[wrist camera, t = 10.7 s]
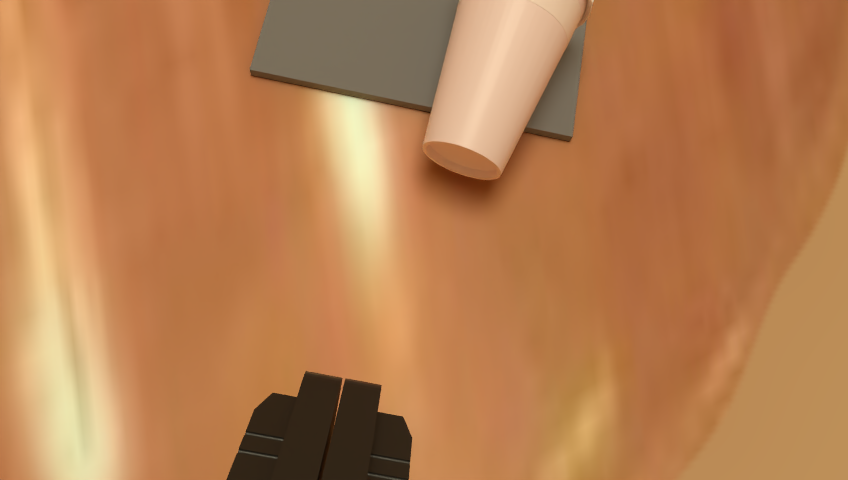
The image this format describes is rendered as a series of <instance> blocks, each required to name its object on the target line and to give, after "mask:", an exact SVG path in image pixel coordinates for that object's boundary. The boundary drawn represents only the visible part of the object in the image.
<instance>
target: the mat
mask: <svg viewBox="0 0 848 480" xmlns="http://www.w3.org/2000/svg"><path fill="white" fill-rule="evenodd" d="M458 3H459V0H270V3H269V6H268V10H267V13H266V16H265V20H264V23H263V27H262V30H261V33H260V37H259V40H258V43H257V47H256V50H255V53H254V57H253V60H252V64H251V67H250V72H251V75H253V76H258V77H263V78H268V79H273V80H277V81H282V82H287V83H292V84H297V85H301V86H306V87H311V88H316V89H321V90H326V91H330V92H335V93H340V94H345V95H350V96H354V97H359V98H364V99H369V100H374V101H378V102H383V103H388V104H393V105H398V106H402V107H407V108H412V109H417V110H422V111H427V112H431V110H432V106H433V102H434V98H435V94H436V90H437V86H438V82H439V78H440V75H441V71H442V67H443V63H444V59H445V55H446V51H447V47H448V43H449V39H450V35H451V31H452V27H453V23H454V19H455V15H456V11H457V6H458ZM586 21H587V20H586ZM586 21H585V23H584V24H583V25H581V26H579V27H578V28H576V29H575V31H574V33H573V35H572V37H571V39H570V42H569V44H568V46H567V48H566V50H565V51H564V53H563V55H562V57H561V59H560V61H559V63H558V65H557V67H556V69H555V71H554V72H553V74H552V76H551V78H550V80H549V82H548V84H547V86H546V88H545V90H544V92H543V94H542V96H541V98H540V100H539V102H538V104H537V106H536V108H535V110H534V112H533V114H532V116H531V117H530V119H529V121H528V123H527V125H526V127H525V129H524V131H523V132H528V133H532V134H537V135H542V136H547V137H552V138H556V139H561V140H566V141H570V140H571V138H572V137H573V129H574V120H575V112H576V104H577V96H578V87H579V79H580V71H581V62H582V54H583V46H584V37H585V29H586Z"/></svg>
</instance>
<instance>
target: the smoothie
mask: <svg viewBox="0 0 848 480" xmlns="http://www.w3.org/2000/svg"><path fill="white" fill-rule="evenodd" d="M593 1H594V0H459V3H458V6H457V11H456V15H455V19H454V23H453V27H452V31H451V35H450V39H449V43H448V47H447V51H446V55H445V59H444V63H443V67H442V71H441V75H440V78H439V82H438V86H437V90H436V94H435V98H434V102H433V106H432V110H431V114H430V118H429V122H428V126H427V130H426V134H425V138H424V142H423V146H422V149H423V152H424V153H425V154H426V155H427V156H428V157H429V158H430V159H431V160H432V161H434V162H435V163H437V164H438V165H440V166H442V167H444V168H446V169H448V170H450V171H453V172H455V173H458V174H460V175H464V176H467V177H471V178H475V179H481V180H494V179H497V178H499V177H500V176H501V174H502V172H503V170H504V168H505V166H506V164H507V162H508V161H509V159H510V157H511V155H512V153H513V151H514V149H515V147H516V145H517V143H518V141H519V139H520V137H521V135H522V133H523V131H524V129H525V127H526V125H527V123H528V121H529V119H530V117H531V116H532V114H533V112H534V110H535V108H536V106H537V104H538V102H539V100H540V98H541V96H542V94H543V92H544V90H545V88H546V86H547V84H548V82H549V80H550V78H551V76H552V74H553V72H554V71H555V69H556V67H557V65H558V63H559V61H560V59H561V57H562V55H563V53H564V51H565V50H566V48H567V46H568V44H569V42H570V39H571V37H572V35H573V33H574V31H575V29H576V28H578V27H579V26H581V25H583V24H584V23H585V21H586V20H587V19H588V17H589V16H590V14H591V9H592V5H593Z"/></svg>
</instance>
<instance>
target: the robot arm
mask: <svg viewBox="0 0 848 480" xmlns="http://www.w3.org/2000/svg"><path fill="white" fill-rule="evenodd" d="M341 384H342V378H340V377H335V376H329V375H324V374H319V373H313V372H308V371H306V372H305V374H304V377H303V380H302V383H301V387H300V390H299V393H298V396H297V397H293V396H288V395H282V394H277V393H272V394H271V395H270V396H269V397H268V398H266V399H265V400H264V401H263V402H262V403H261V404H260V405H259V406H258V407H257V408H255V409H254V412H253V414H252V417H251V419H250V422H249V424H248V427H247V429H246V433H245V435H244V437H243V440H242V442H241V445H240V447H239V451H238V453H237V455H236V457H235V460H234V462H233V465H232V467H231V470H230V472H229V475H228V477H227V480H408V479H409V468H410V465H409V464H410V457H411V445H412V437H411V434H410V432H409V430H408V427H407V425H406V422H405V420H404V418H403V417H402V416H397V415H391V414H386V413H380V412H377V411H378V405H379V399H380V392H381V385H378V384H373V383H368V382H362V381H357V380H352V379H345V382H344V386H343V391H342V395H341V399H340V403H339V408H338V412H337V406H338V401H339V395H340V390H341ZM336 412H337V416H336ZM335 417H336V420H335ZM334 423H335V425H334ZM333 428H334V429H333Z"/></svg>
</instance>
